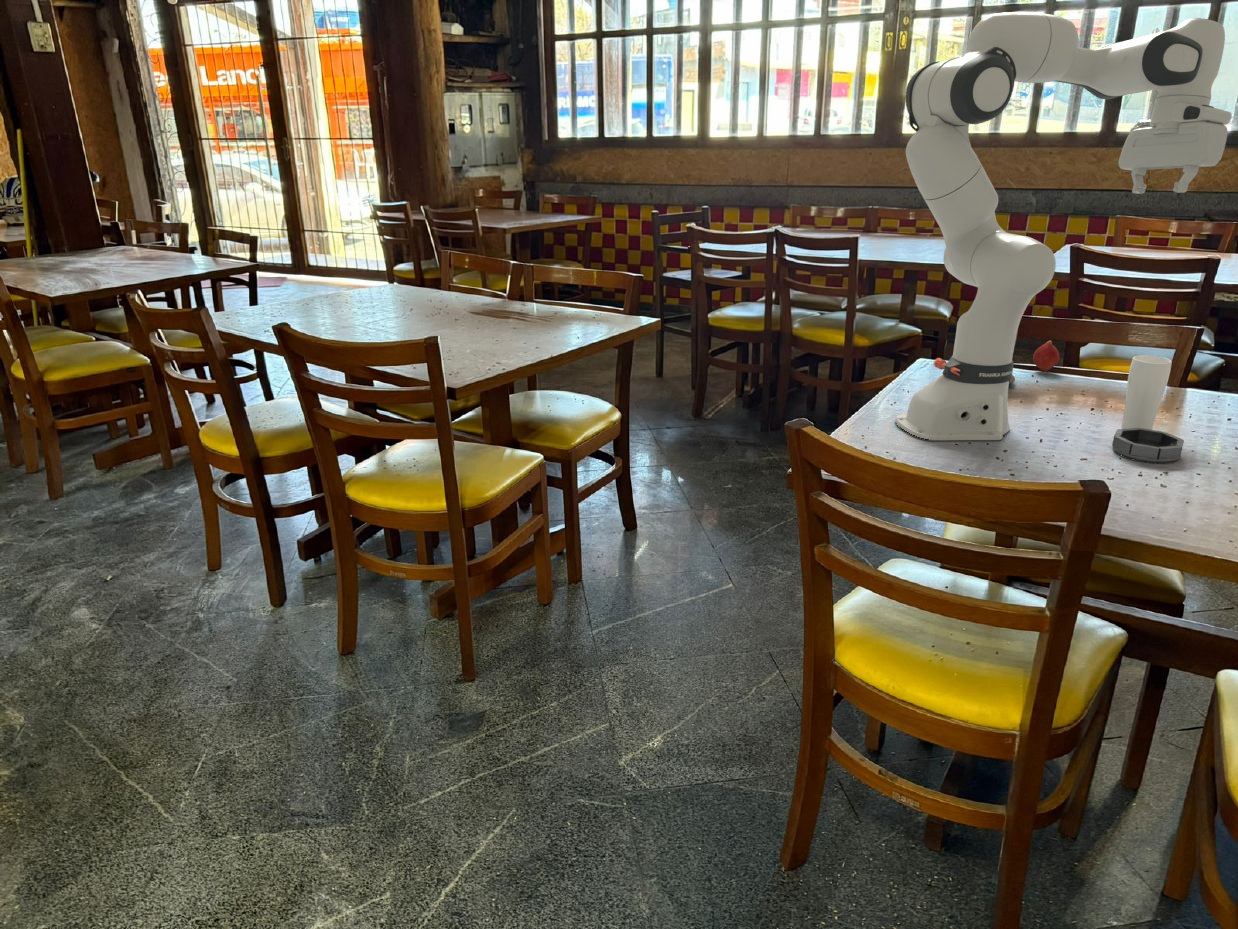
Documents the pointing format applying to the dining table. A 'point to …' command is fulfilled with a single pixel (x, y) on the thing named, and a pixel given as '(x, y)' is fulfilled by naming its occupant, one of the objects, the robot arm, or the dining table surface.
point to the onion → (1046, 356)
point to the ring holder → (1147, 445)
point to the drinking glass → (1145, 390)
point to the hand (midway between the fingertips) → (1158, 192)
